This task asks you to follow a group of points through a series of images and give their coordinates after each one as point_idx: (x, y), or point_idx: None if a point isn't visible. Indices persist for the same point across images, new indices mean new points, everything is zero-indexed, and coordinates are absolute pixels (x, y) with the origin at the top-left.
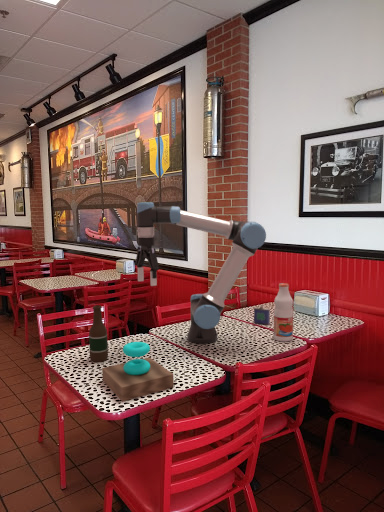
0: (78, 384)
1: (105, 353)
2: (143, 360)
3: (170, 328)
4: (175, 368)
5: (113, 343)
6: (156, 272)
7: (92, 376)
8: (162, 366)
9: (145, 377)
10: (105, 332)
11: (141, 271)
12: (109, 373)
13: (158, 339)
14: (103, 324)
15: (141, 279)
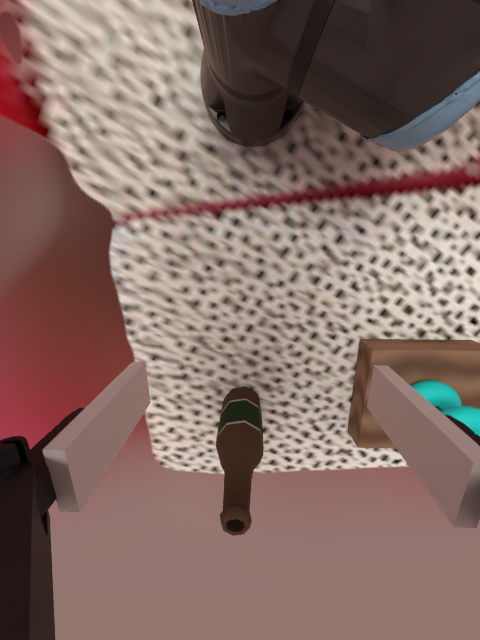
0: (335, 462)
1: (258, 403)
2: (441, 401)
3: (92, 129)
4: (396, 290)
5: (156, 342)
6: (478, 445)
7: (318, 436)
8: (442, 350)
9: (463, 402)
10: (257, 436)
11: (102, 435)
12: (393, 445)
13: (183, 225)
14: (243, 451)
15: (141, 387)
